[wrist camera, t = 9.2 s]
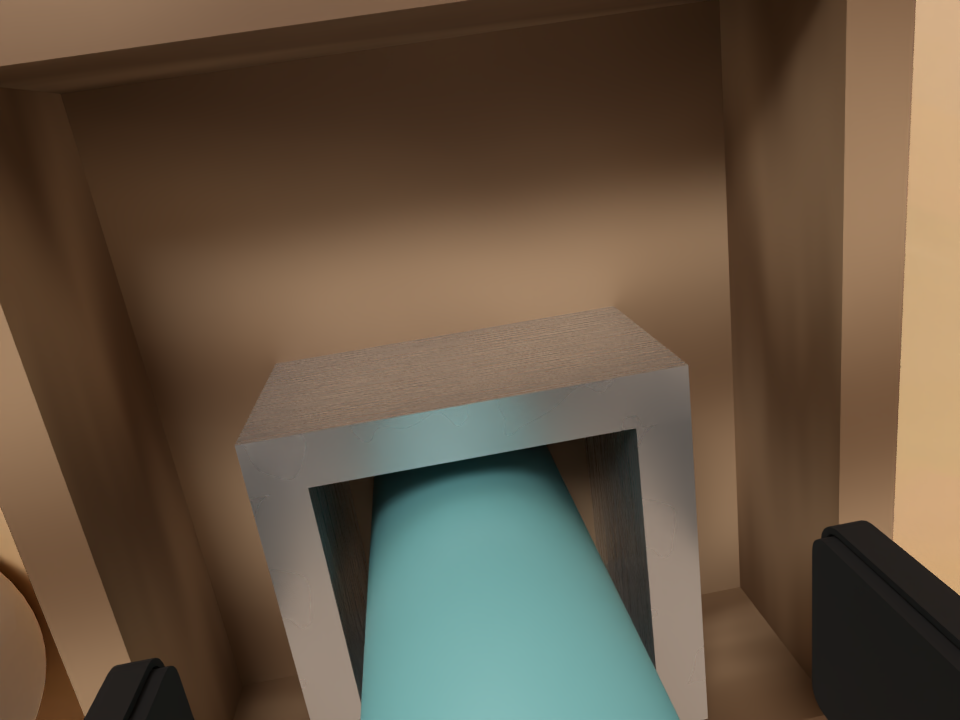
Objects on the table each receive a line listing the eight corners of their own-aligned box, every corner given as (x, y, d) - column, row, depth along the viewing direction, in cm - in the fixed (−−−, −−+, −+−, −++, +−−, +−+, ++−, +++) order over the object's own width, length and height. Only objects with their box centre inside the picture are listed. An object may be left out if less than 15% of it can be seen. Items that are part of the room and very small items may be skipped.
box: (10, 46, 13) (-203, -1, 8) (745, -56, 14) (921, -150, 9) (219, 696, 18) (158, 899, 13) (760, 588, 19) (883, 742, 14)
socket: (276, 363, 15) (234, 445, 11) (613, 306, 15) (688, 365, 11) (345, 647, 17) (331, 797, 13) (638, 589, 17) (708, 718, 13)
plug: (357, 419, 15) (295, 906, 6) (544, 386, 15) (786, 797, 6) (391, 581, 16) (389, 1200, 7) (563, 547, 17) (790, 1100, 7)
